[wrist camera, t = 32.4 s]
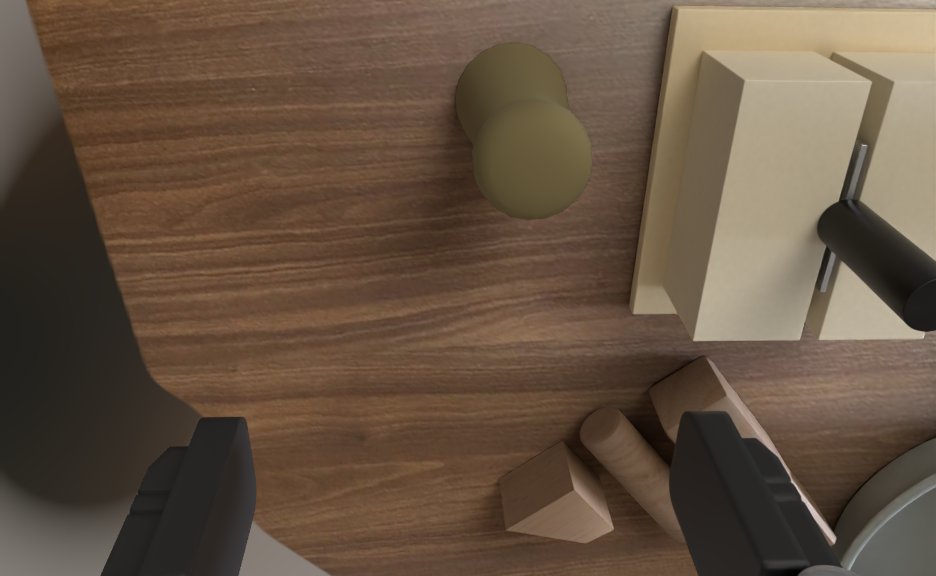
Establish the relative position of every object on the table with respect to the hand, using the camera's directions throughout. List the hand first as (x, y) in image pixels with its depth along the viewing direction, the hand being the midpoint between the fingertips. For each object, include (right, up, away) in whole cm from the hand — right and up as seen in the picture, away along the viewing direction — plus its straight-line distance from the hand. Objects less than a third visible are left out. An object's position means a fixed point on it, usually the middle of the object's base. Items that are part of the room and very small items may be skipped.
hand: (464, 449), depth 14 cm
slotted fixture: (+18, +10, +30) cm, 36 cm away
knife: (+18, +9, +29) cm, 36 cm away
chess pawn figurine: (+2, +13, +27) cm, 30 cm away
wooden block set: (+14, -11, +42) cm, 45 cm away
